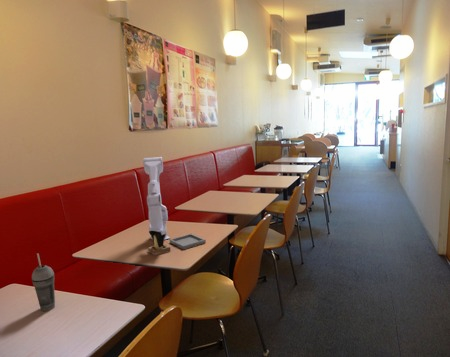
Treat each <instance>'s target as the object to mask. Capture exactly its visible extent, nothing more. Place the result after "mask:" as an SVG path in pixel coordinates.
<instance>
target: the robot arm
mask: <svg viewBox="0 0 450 357" xmlns="http://www.w3.org/2000/svg"><path fill="white" fill-rule="evenodd" d="M142 164H143V170H144V172H145V174H146V175H148V176H149V182H148V183H147V196H146V204H147V208H148V221H149V223H150V224H148V233H149V234H150V236H149V238H150V239H151V240H152V241H153V243H154V235H155V237H156V239H157V243H158V247H162V246H163V244H165V240H168V239H169V240H170V239H171V237H170V236H168V232H167V231H168V230H167V222H168V220H169V217H168V215H169V214H168V210H167V209H168V208H167V207H166V206H165V205H163V204H162V202H163V201H162V195H161V186H160V185H161V184H160V174H162V173H163V172H164V162H163V156H157V157H155V156H154V157H144V158H143V159H142Z"/></svg>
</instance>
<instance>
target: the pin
mask: <svg viewBox="0 0 450 357" xmlns="http://www.w3.org/2000/svg"><path fill="white" fill-rule="evenodd" d="M153 244H154V245H153V246H155V250H159V249H162V248H163V246H162V247H158V243H157V239H156V237H155V235H154V242H153Z"/></svg>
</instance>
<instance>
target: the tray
mask: <svg viewBox="0 0 450 357" xmlns="http://www.w3.org/2000/svg"><path fill="white" fill-rule="evenodd" d="M169 243H170V244H172V245H174V247H177V248H178V249H181V250H186V249H190V248H193V247H197V246H201V245H203V244H206V239H205V238H202V237H200V236H198V235H196V234H193V233H189V234H188V233H187V234H185V235H181V236H178V237H174V238H169Z"/></svg>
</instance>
